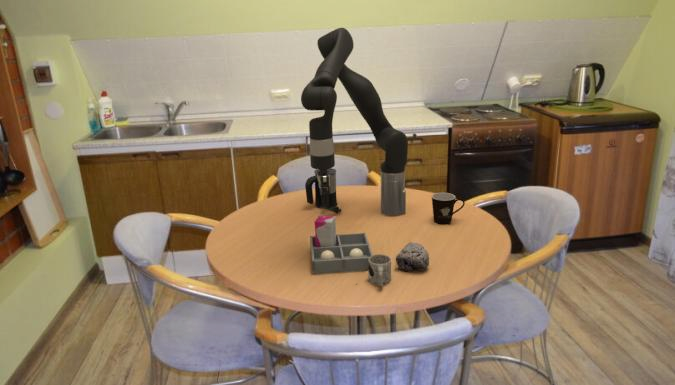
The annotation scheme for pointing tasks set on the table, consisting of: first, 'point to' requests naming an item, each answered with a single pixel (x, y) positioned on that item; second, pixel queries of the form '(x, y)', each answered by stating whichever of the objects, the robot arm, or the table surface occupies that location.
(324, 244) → the supplement box
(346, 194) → the table surface
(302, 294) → the table surface
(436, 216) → the coffee mug
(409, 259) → the pumice stone
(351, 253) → the egg front left
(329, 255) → the egg front right
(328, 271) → the grey divided tray
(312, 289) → the table surface
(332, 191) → the milk frother
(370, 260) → the mug
